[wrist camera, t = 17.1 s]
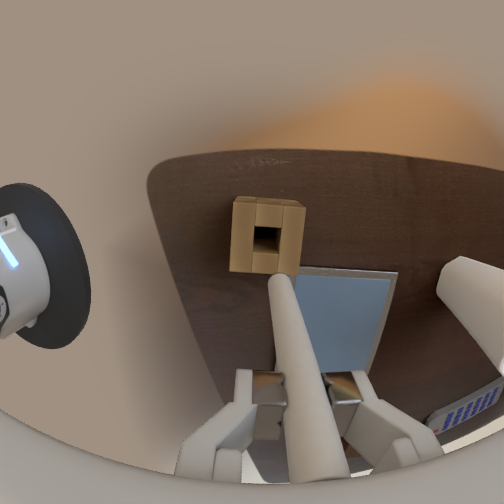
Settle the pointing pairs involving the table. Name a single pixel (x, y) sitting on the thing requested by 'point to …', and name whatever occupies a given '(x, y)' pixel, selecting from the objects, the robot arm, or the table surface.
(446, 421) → the remote control
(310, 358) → the stylus
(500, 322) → the cup
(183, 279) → the table surface
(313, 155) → the table surface
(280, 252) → the block
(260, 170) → the table surface
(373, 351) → the tablet
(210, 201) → the table surface
